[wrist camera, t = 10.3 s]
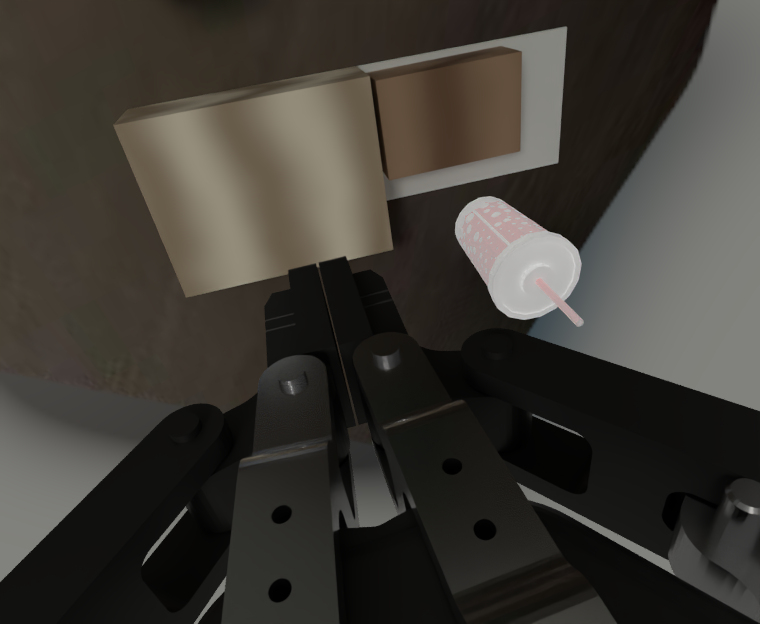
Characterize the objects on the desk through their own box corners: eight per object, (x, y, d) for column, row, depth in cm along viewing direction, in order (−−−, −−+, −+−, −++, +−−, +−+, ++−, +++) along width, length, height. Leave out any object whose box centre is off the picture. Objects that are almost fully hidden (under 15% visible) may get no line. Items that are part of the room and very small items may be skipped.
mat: (564, 26, 33) (567, 27, 33) (556, 161, 38) (558, 162, 38) (356, 66, 32) (357, 66, 31) (376, 201, 37) (377, 202, 37)
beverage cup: (470, 273, 42) (556, 383, 31) (430, 222, 39) (510, 324, 27) (531, 226, 41) (644, 322, 30) (496, 169, 38) (608, 252, 26)
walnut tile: (500, 45, 33) (521, 51, 30) (501, 139, 36) (520, 151, 34) (365, 72, 32) (375, 80, 29) (378, 166, 35) (389, 180, 33)
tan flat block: (356, 66, 32) (369, 76, 28) (380, 226, 38) (393, 249, 35) (126, 109, 30) (113, 125, 27) (191, 268, 36) (186, 297, 33)
